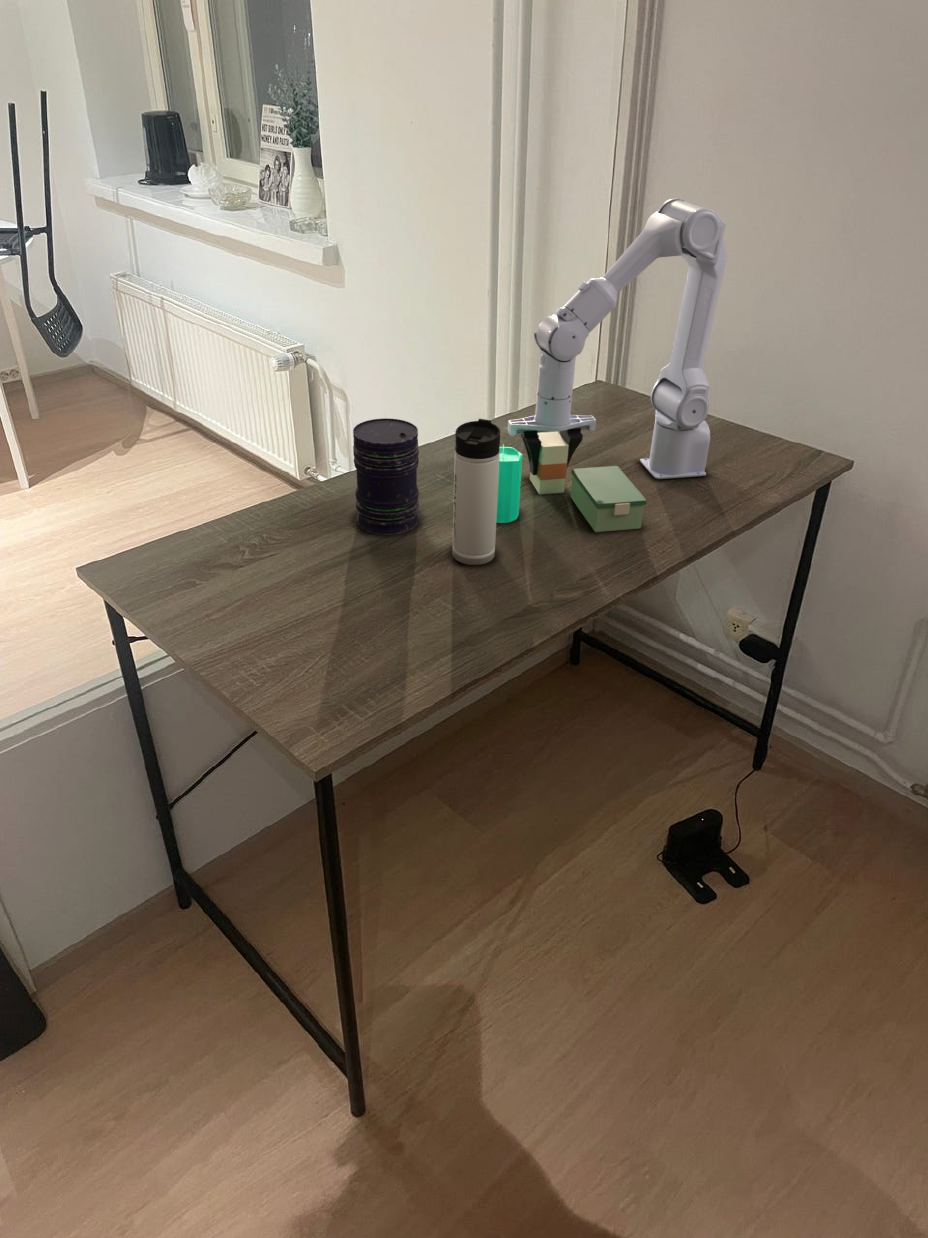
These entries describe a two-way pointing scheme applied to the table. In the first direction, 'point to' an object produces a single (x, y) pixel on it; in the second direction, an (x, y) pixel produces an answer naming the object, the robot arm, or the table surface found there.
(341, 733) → the table surface
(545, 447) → the juice carton
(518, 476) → the candle
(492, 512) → the travel mug
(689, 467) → the robot arm
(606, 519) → the lunchbox
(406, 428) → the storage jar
